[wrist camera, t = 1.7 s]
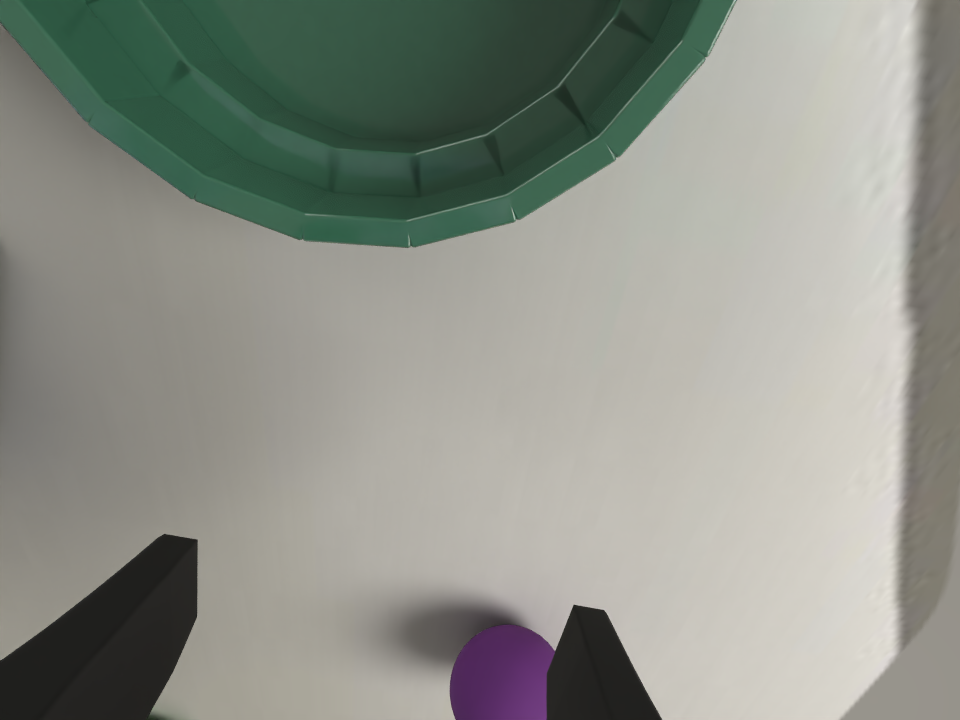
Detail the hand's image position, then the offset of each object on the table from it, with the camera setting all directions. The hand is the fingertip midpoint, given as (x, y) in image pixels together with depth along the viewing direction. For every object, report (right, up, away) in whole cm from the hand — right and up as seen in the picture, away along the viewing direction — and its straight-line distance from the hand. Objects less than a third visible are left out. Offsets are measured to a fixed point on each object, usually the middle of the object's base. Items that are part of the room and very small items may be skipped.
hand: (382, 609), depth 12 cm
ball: (+3, -8, +11) cm, 14 cm away
